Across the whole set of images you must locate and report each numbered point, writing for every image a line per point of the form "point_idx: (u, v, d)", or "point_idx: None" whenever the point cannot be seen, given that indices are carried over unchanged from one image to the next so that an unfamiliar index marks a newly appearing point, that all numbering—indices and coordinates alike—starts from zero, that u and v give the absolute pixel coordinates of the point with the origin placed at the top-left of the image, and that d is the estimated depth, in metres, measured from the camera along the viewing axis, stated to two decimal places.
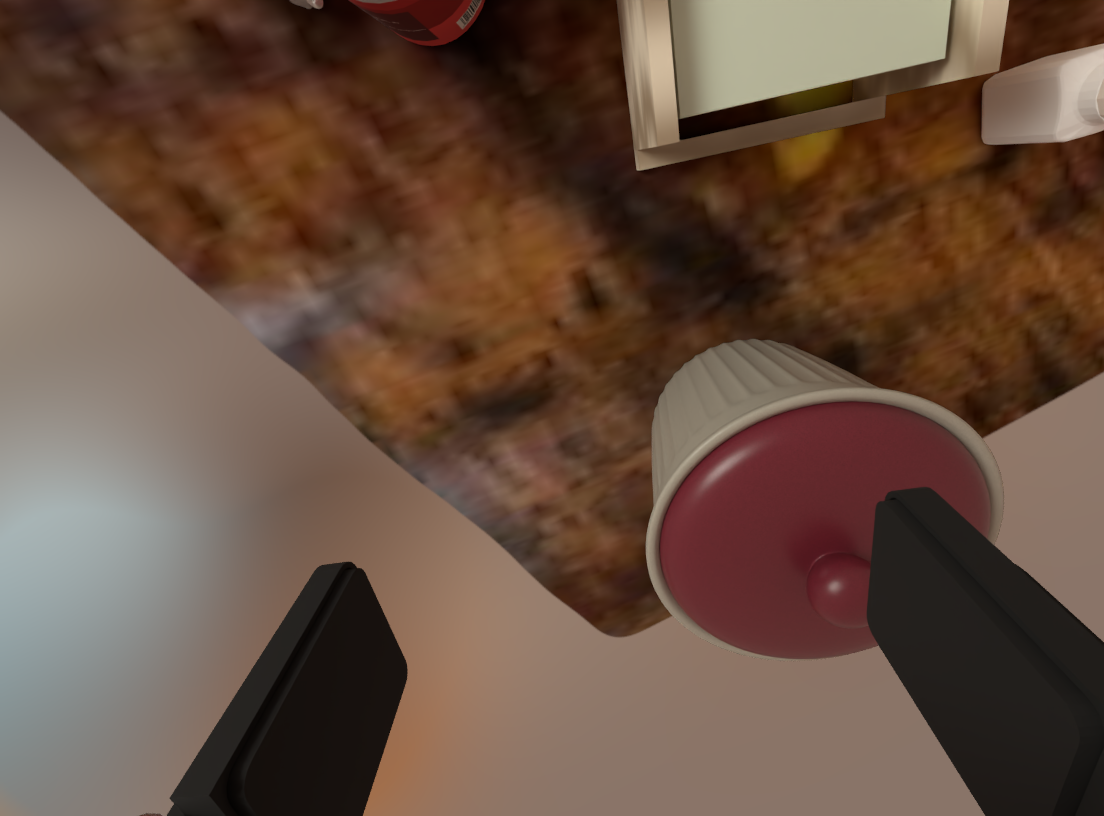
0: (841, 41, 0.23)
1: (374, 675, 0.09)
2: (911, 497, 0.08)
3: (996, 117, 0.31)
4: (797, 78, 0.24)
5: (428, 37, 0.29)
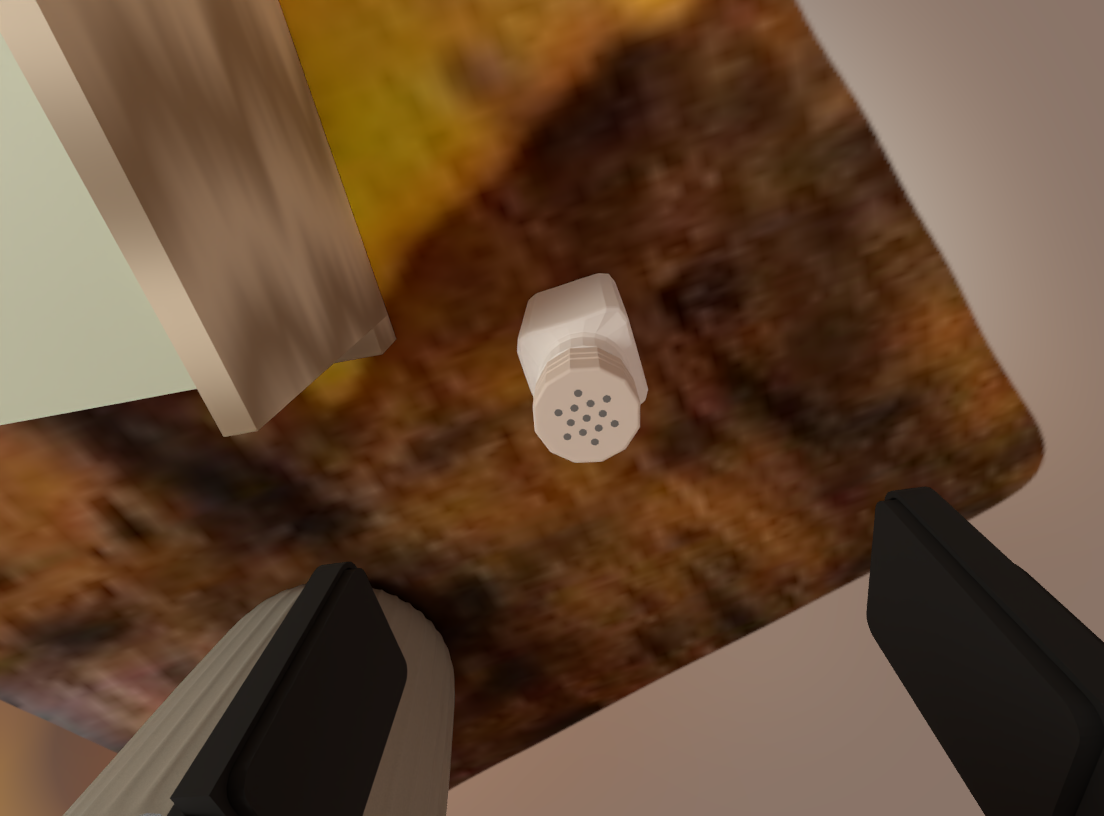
0: (52, 359, 0.15)
1: (374, 675, 0.09)
2: (911, 497, 0.08)
3: None
4: (18, 403, 0.15)
5: None
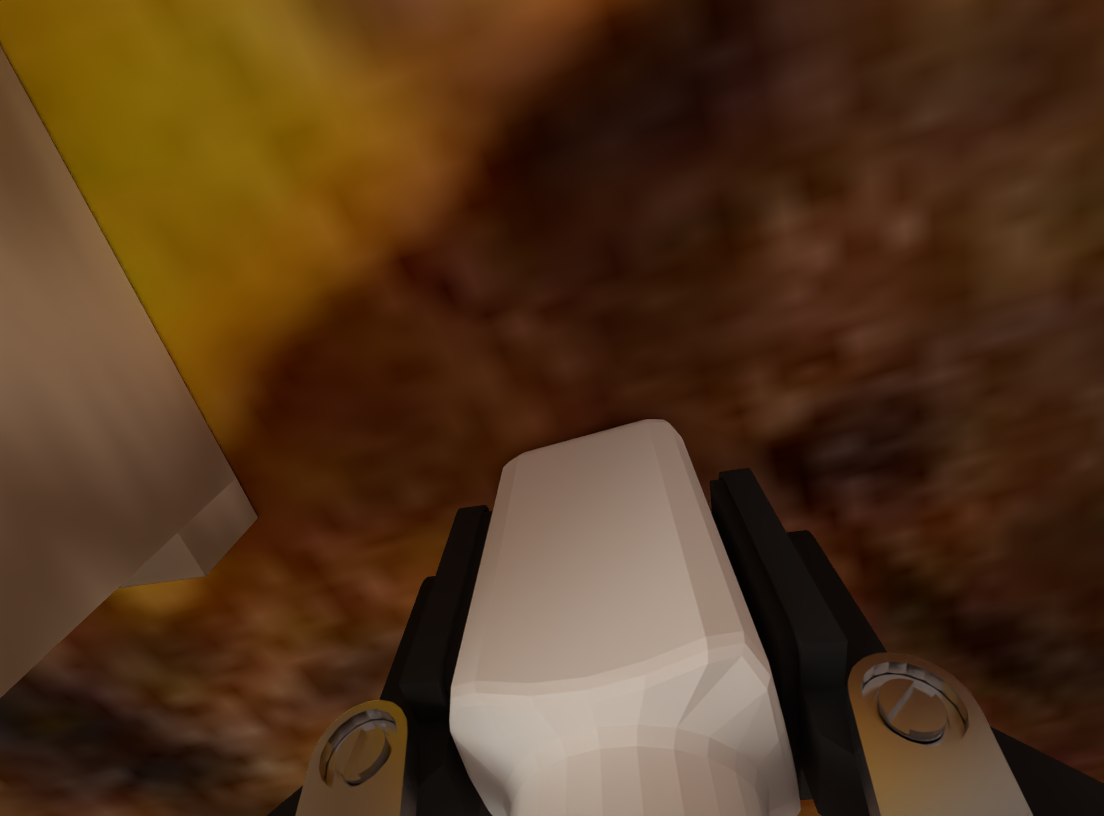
0: None
1: None
2: (730, 476, 0.09)
3: None
4: None
5: None
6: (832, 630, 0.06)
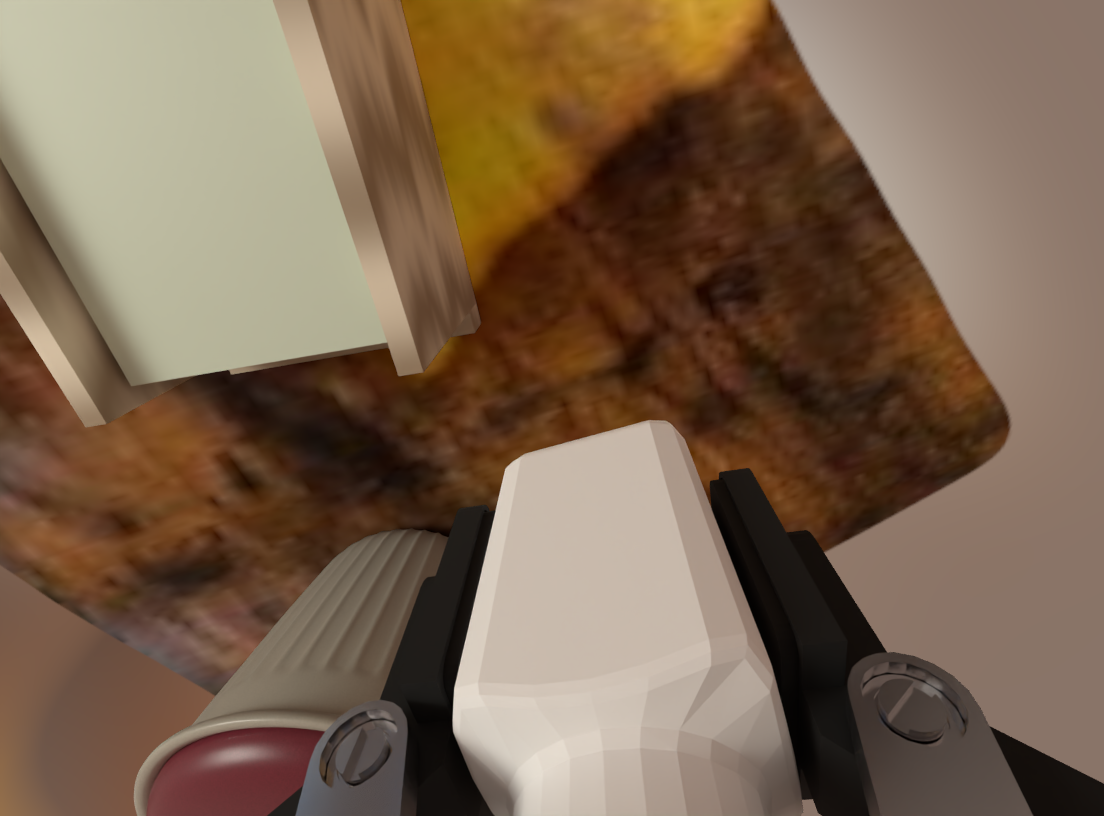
0: (272, 321, 0.21)
1: None
2: (730, 476, 0.09)
3: None
4: (241, 354, 0.21)
5: None
6: (833, 630, 0.06)
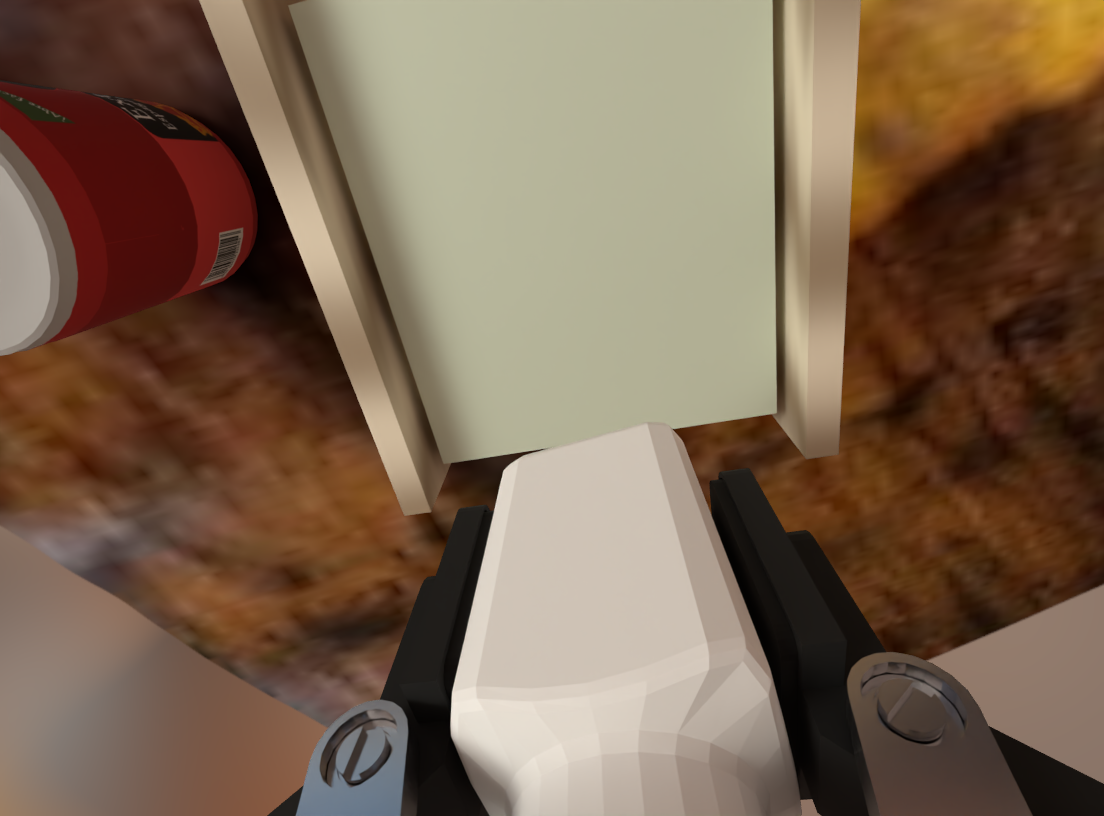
0: (637, 393, 0.17)
1: None
2: (730, 476, 0.09)
3: None
4: (587, 428, 0.18)
5: None
6: (832, 630, 0.06)
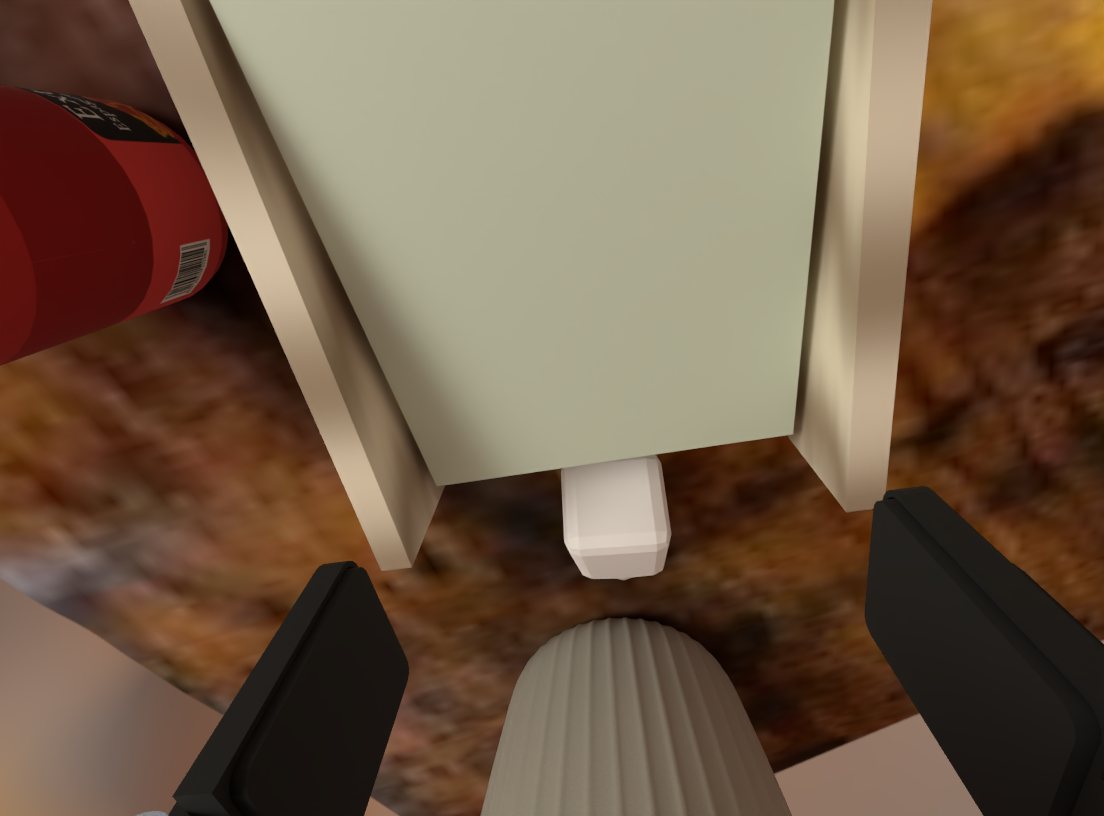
0: (644, 417, 0.16)
1: (376, 674, 0.09)
2: (909, 497, 0.08)
3: None
4: (589, 451, 0.17)
5: None
6: None
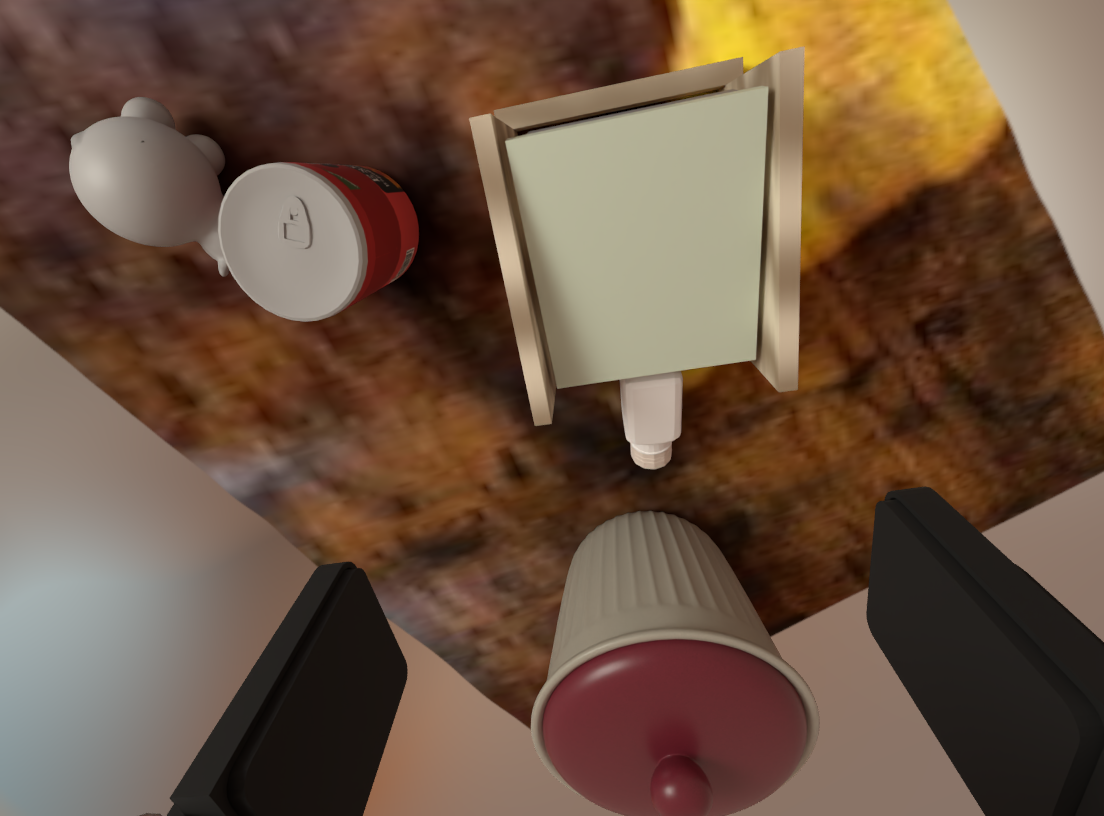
0: (676, 348, 0.30)
1: (374, 675, 0.09)
2: (911, 497, 0.08)
3: (620, 381, 0.36)
4: (645, 368, 0.31)
5: None
6: None
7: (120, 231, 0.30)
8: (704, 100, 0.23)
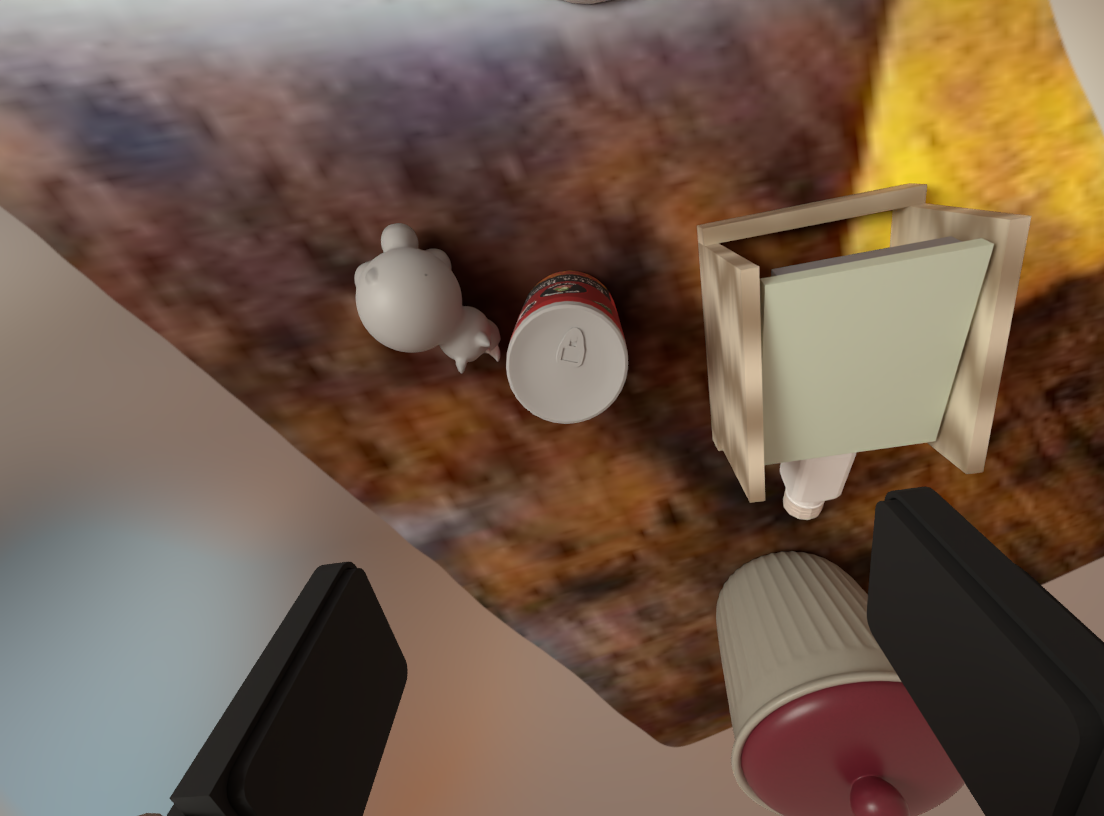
0: (869, 433, 0.35)
1: (374, 675, 0.09)
2: (911, 497, 0.08)
3: None
4: (838, 449, 0.36)
5: None
6: None
7: (395, 346, 0.35)
8: (938, 253, 0.28)
